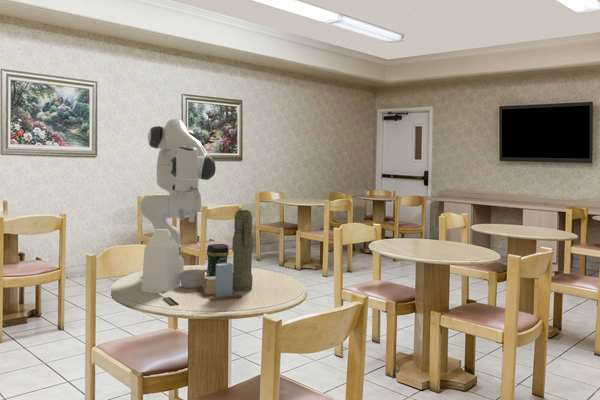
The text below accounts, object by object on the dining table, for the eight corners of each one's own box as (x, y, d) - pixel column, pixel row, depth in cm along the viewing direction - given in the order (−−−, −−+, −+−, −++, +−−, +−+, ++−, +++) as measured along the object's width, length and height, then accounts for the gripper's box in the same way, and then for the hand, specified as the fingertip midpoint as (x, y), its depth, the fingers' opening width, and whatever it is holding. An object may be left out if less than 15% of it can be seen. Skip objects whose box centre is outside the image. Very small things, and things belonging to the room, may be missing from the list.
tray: (195, 293, 220) (195, 288, 220) (224, 290, 227) (224, 285, 227) (211, 304, 205) (211, 298, 205) (241, 300, 212) (241, 295, 212)
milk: (180, 288, 230) (181, 228, 228) (167, 294, 219) (167, 232, 217) (156, 285, 233) (156, 227, 232) (141, 291, 222) (142, 230, 220)
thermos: (237, 295, 220) (238, 212, 217) (227, 289, 230) (229, 209, 228) (256, 293, 224) (258, 211, 222) (246, 287, 234) (248, 209, 232)
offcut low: (202, 291, 220) (202, 284, 220) (225, 289, 225) (225, 282, 225) (207, 294, 216) (207, 287, 216) (229, 291, 221) (229, 284, 221)
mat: (163, 299, 210) (163, 297, 210) (187, 296, 216) (187, 295, 216) (170, 305, 202) (170, 303, 202) (195, 302, 207) (195, 301, 207)
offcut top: (204, 284, 220) (204, 277, 220) (224, 282, 225) (224, 275, 224) (208, 286, 216) (208, 279, 216) (228, 284, 220) (228, 277, 220)
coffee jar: (211, 287, 232) (212, 245, 231) (203, 284, 238) (204, 243, 237) (230, 285, 238) (231, 244, 237) (222, 281, 244) (222, 242, 243)
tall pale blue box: (215, 295, 214) (215, 264, 213) (228, 294, 217) (229, 263, 216) (218, 297, 211) (219, 265, 210) (232, 296, 214) (233, 264, 213)
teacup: (185, 293, 221) (186, 274, 221) (175, 287, 230) (175, 269, 230) (215, 289, 230) (216, 271, 229) (204, 284, 238) (205, 266, 238)
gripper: (205, 187, 205) (204, 222, 205) (184, 186, 221) (183, 219, 222) (190, 187, 201) (189, 223, 201) (170, 186, 218) (169, 219, 218)
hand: (186, 221), depth 212 cm, fingers open, 8 cm apart
